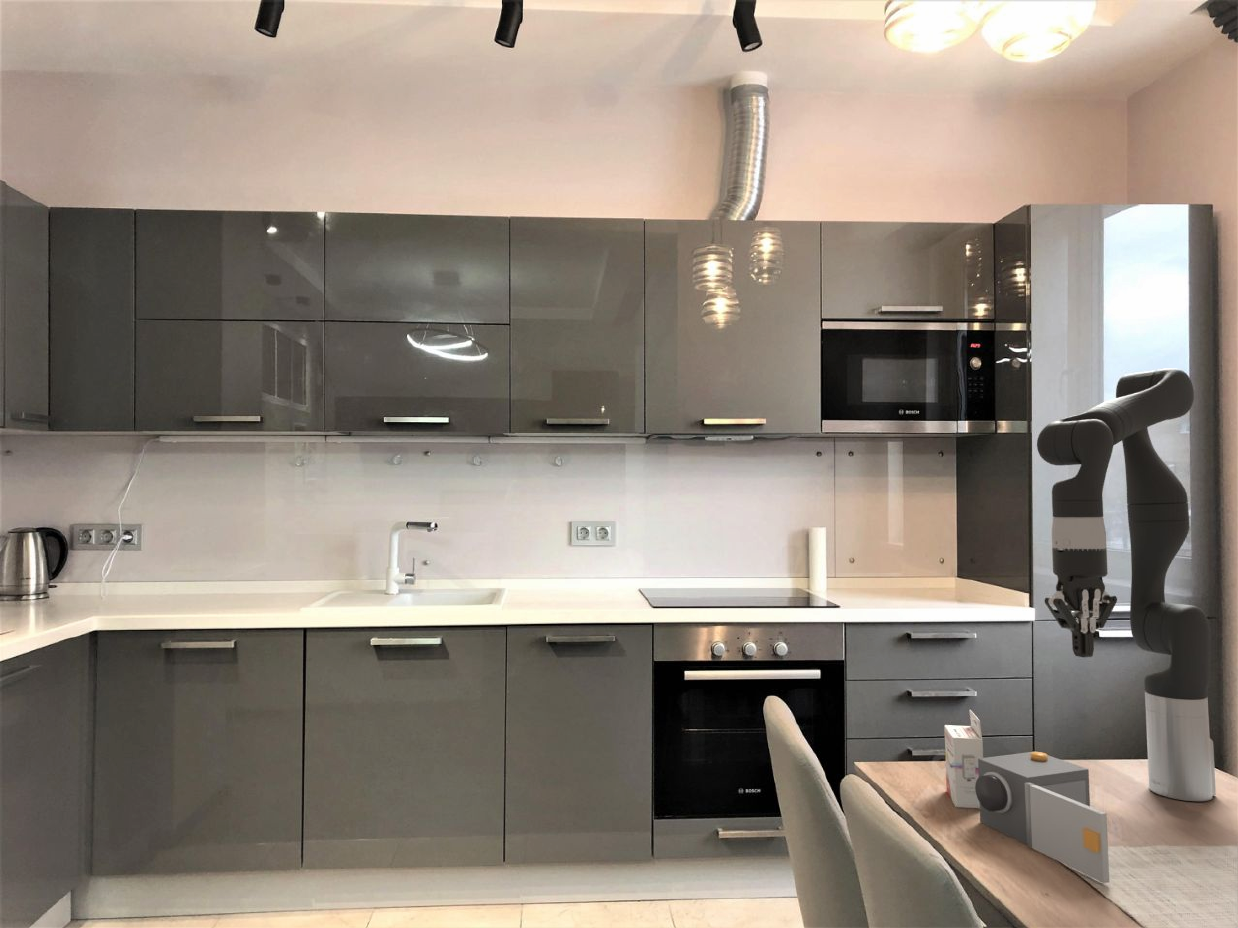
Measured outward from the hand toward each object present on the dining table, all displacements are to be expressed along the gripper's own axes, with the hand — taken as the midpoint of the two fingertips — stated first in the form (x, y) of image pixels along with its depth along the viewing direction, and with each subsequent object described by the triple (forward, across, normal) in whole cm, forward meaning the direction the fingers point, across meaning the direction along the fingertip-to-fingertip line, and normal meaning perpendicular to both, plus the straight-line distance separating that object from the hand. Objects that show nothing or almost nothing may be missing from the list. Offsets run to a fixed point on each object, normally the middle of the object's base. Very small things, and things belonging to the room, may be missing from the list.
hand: (1083, 656), depth 127 cm
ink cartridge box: (+27, +8, -18) cm, 34 cm away
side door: (+27, +14, +8) cm, 31 cm away
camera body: (+27, +7, -4) cm, 28 cm away
